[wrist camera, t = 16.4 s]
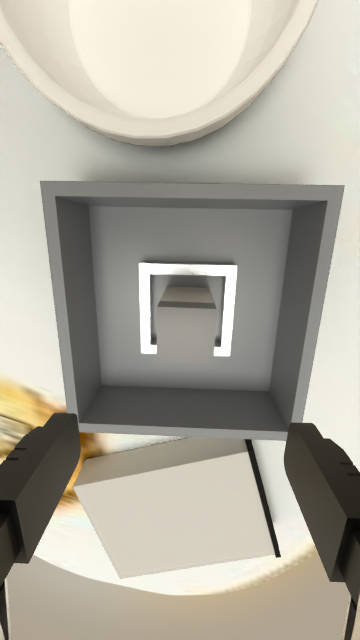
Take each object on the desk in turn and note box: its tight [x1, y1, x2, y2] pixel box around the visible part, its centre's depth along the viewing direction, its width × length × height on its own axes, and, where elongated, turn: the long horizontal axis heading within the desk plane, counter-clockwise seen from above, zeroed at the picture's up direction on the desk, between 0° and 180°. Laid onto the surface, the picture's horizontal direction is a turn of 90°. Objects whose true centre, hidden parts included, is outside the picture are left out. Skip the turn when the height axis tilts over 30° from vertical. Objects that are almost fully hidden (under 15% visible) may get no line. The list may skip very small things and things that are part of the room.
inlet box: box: [40, 181, 345, 441], centre depth 27 cm, size 22×22×8 cm
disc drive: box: [73, 437, 281, 579], centre depth 36 cm, size 18×22×5 cm
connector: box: [157, 286, 217, 364], centre depth 25 cm, size 4×4×9 cm
